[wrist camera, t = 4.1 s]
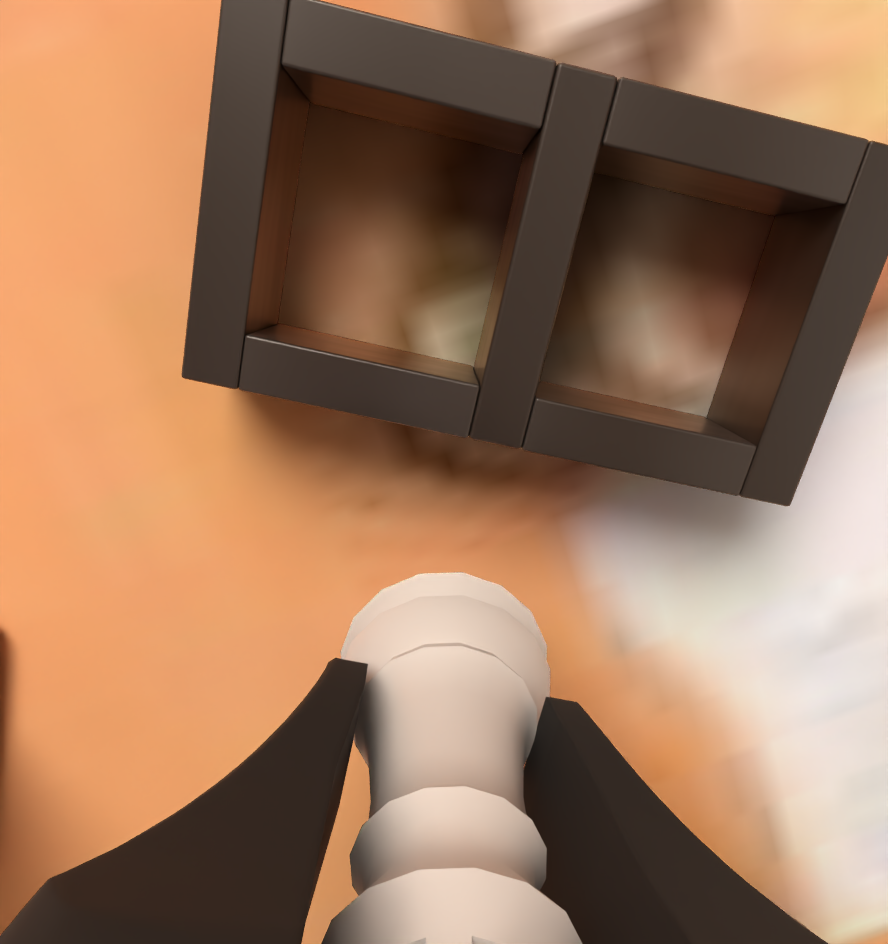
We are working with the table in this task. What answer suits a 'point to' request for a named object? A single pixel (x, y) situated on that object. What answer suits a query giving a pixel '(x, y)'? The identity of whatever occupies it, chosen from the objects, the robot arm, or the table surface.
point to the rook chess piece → (448, 769)
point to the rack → (532, 243)
